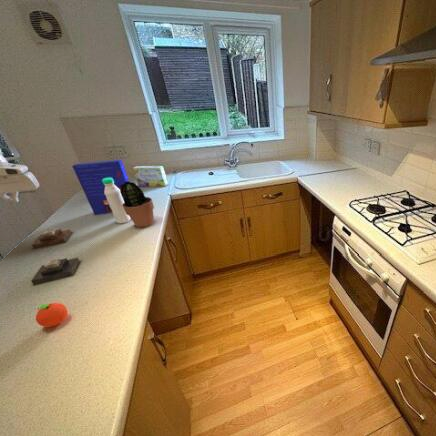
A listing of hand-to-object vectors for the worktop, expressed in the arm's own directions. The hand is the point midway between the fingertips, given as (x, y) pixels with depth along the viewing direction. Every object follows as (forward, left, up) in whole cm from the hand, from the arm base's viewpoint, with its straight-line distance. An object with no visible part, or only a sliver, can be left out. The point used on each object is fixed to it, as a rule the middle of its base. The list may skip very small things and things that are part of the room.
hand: (14, 202), depth 102 cm
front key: (+14, -26, -20) cm, 36 cm away
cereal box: (+26, +33, -24) cm, 48 cm away
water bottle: (+32, +14, -24) cm, 42 cm away
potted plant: (+43, +4, -24) cm, 49 cm away
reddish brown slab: (+3, +6, -24) cm, 25 cm away
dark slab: (+14, -26, -24) cm, 38 cm away
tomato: (+22, -56, -24) cm, 65 cm away
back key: (+3, +6, -20) cm, 21 cm away
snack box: (+45, +72, -24) cm, 88 cm away
